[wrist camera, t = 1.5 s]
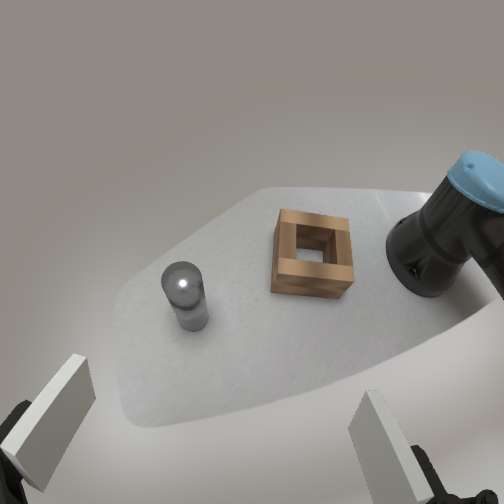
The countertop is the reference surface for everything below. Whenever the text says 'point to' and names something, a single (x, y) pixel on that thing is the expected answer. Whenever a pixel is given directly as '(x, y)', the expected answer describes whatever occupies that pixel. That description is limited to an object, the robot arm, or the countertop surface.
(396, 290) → the countertop surface
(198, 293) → the silver metal peg
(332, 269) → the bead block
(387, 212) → the countertop surface
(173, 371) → the countertop surface
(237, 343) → the countertop surface
